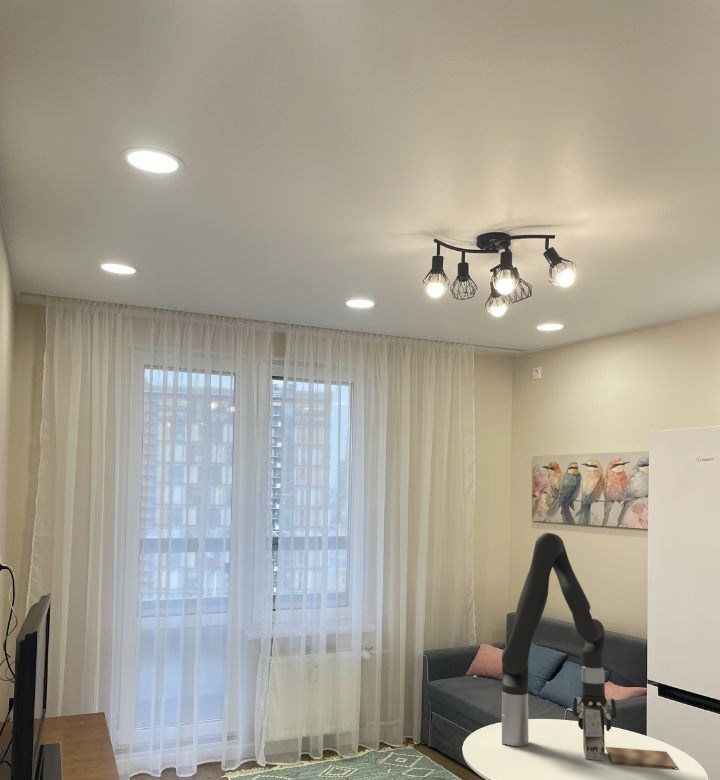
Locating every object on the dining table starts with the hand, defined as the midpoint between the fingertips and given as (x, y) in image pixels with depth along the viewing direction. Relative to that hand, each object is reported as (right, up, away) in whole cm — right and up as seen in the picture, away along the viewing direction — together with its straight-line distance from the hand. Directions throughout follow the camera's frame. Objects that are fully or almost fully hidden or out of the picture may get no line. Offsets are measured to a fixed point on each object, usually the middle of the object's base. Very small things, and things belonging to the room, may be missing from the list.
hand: (594, 729), depth 256 cm
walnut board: (+14, -8, -3) cm, 17 cm away
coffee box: (-1, -8, -1) cm, 9 cm away
